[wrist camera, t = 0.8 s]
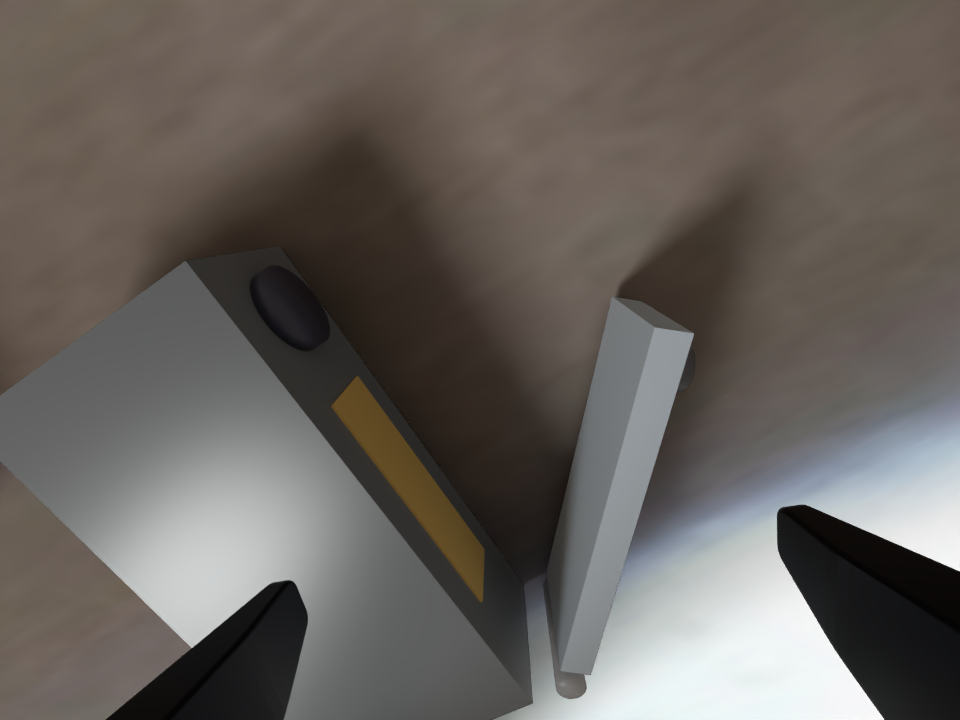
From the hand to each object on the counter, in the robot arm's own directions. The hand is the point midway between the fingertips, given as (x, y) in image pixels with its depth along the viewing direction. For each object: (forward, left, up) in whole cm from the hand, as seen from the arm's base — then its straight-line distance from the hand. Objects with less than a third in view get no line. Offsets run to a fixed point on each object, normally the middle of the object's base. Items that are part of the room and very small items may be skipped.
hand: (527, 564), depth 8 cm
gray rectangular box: (-1, +11, -12) cm, 16 cm away
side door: (-6, -1, -12) cm, 13 cm away
